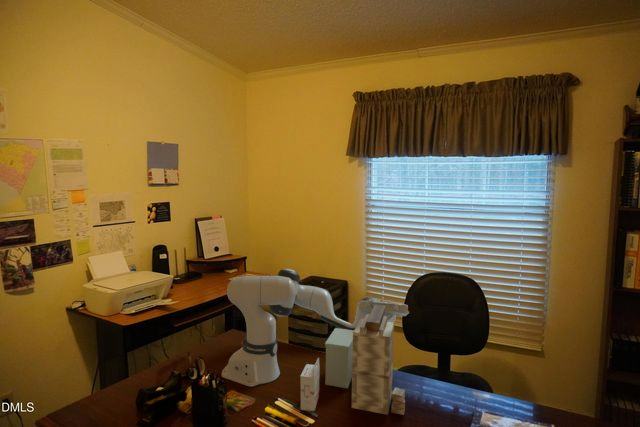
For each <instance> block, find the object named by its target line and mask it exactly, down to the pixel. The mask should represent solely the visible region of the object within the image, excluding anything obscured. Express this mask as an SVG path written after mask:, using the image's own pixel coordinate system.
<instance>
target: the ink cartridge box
mask: <svg viewBox="0 0 640 427" xmlns="http://www.w3.org/2000/svg"><path fill="white" fill-rule="evenodd" d="M320 370H321V368H320V357H317V359H316V361H315V363H314V364H311V363H310V364H309V363H306V364H305V366H304V368H303V370H302V372H301V374H300V375H299V378H300V410H301V411H309V412H315V410H316V407H317V404H318V402H319V399H320Z"/></svg>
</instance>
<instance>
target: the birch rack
mask: <svg viewBox="0 0 640 427" xmlns="http://www.w3.org/2000/svg"><path fill="white" fill-rule="evenodd" d="M369 316H370V314H366V316H365V318H364V319H361V318H360V320H359V322H358V324H357V326H356V328H355V330H354V331H353V360H352V379H351V409H356V410H360V411H361V410H362V411H366V412H371V413H378V414H383V415H385V416H386V415H389V411H390V405H391V402H392V401H391V400H392V392H393V367H394V366H393V365H394V334H395V332H394V331H395V322H387V319H388V316H384V318H383V320H382V323H381V326H380V329H379V332H376V331H368V330H367V320H368V318H369Z"/></svg>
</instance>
